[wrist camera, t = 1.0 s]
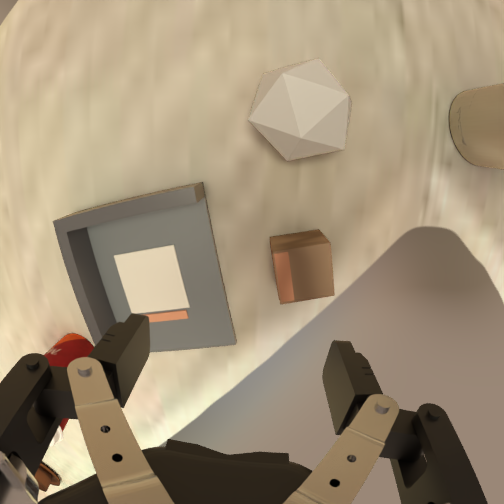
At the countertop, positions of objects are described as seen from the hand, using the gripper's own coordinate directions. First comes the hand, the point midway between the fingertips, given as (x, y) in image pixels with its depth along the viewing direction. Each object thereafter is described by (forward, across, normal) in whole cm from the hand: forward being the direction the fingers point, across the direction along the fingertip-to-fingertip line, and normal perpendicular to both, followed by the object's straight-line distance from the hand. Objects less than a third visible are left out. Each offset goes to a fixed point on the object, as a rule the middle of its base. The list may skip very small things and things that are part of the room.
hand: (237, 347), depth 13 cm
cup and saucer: (+18, +46, +67) cm, 83 cm away
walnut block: (+19, -5, +2) cm, 20 cm away
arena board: (+19, +10, +6) cm, 22 cm away
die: (+19, -3, -12) cm, 23 cm away
